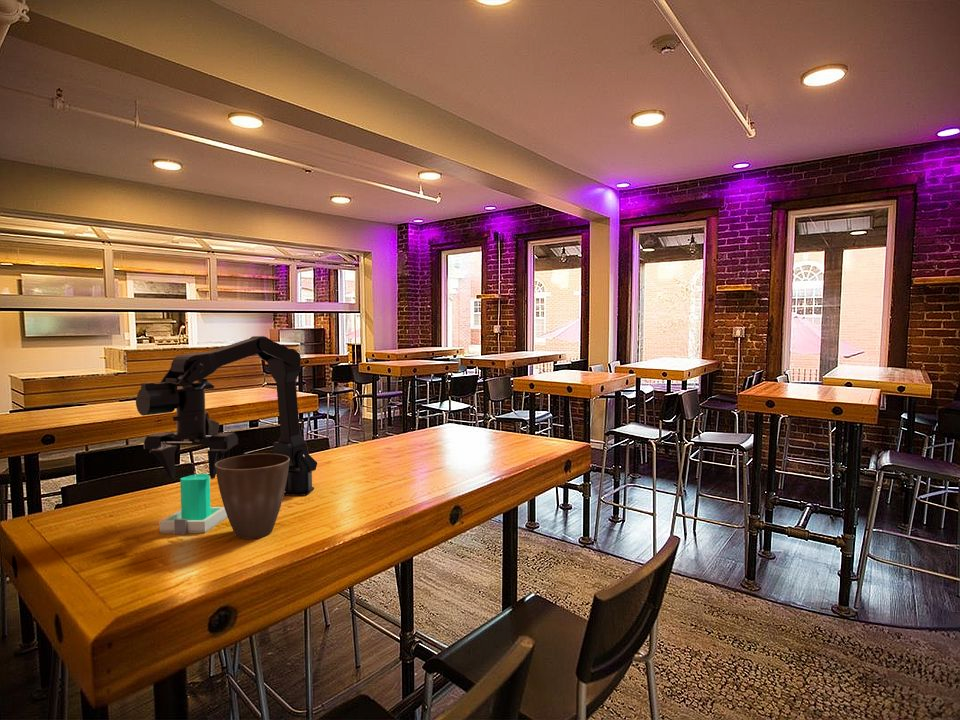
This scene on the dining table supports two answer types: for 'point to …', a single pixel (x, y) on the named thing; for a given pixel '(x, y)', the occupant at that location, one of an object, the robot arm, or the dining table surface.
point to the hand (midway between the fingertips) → (192, 478)
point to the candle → (195, 497)
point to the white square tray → (192, 522)
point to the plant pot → (252, 491)
